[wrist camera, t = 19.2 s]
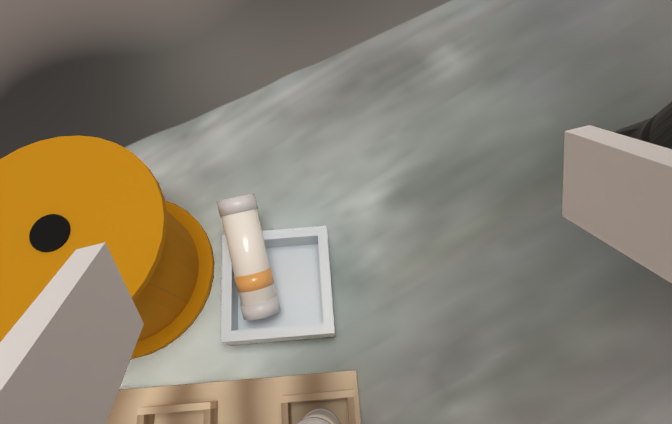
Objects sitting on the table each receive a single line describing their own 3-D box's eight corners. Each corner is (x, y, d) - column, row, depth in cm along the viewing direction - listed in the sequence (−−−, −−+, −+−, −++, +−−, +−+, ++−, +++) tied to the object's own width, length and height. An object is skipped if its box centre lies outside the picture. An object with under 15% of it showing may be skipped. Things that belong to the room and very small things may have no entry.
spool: (83, 394, 44) (-37, 401, 30) (31, 248, 50) (-91, 198, 36) (242, 301, 47) (199, 269, 33) (175, 174, 53) (115, 101, 39)
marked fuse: (288, 307, 44) (262, 192, 44) (260, 320, 41) (232, 197, 41) (263, 307, 47) (238, 198, 46) (235, 320, 44) (208, 203, 43)
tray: (327, 237, 50) (326, 225, 46) (335, 336, 46) (334, 332, 42) (231, 244, 50) (222, 233, 46) (230, 345, 46) (220, 342, 42)
